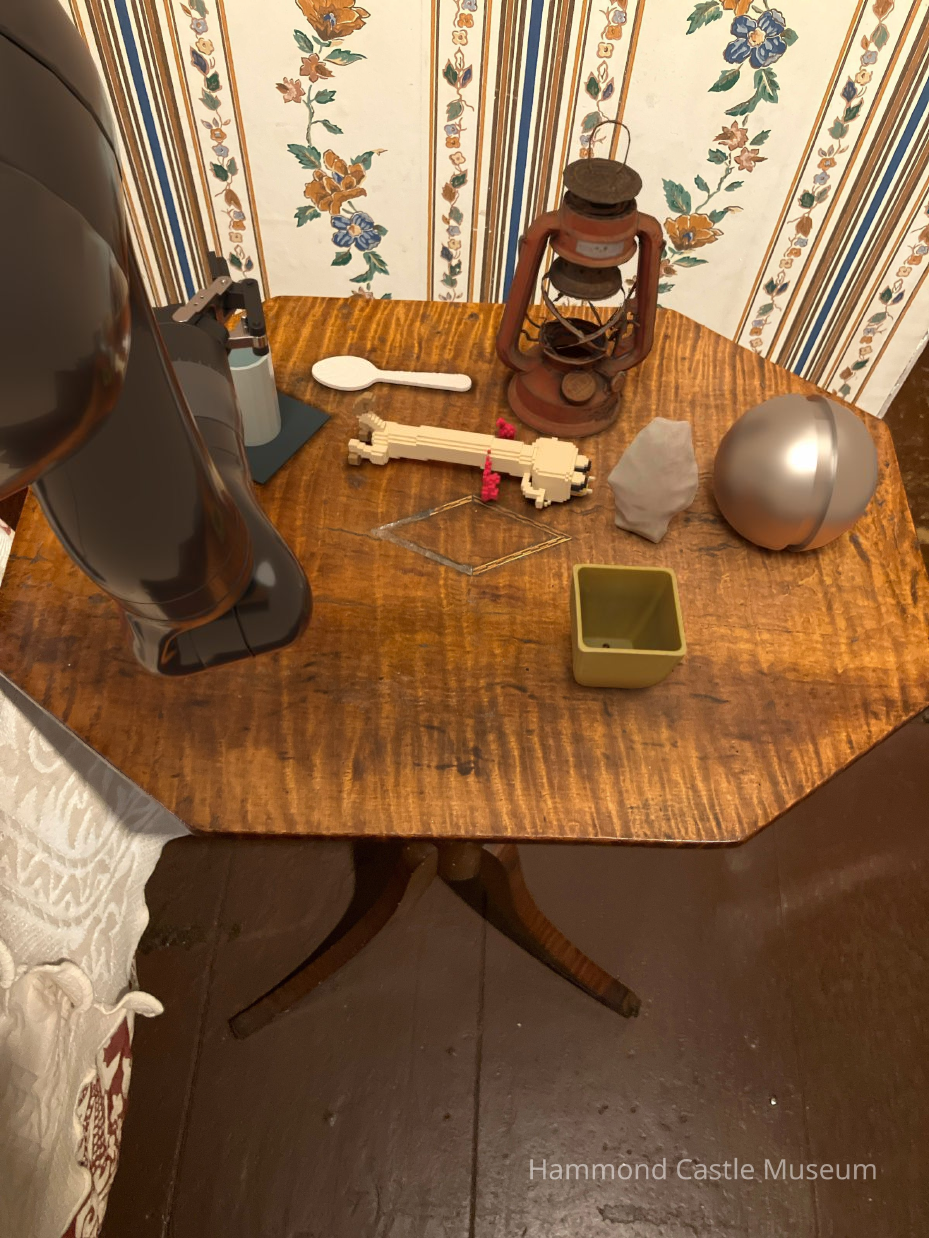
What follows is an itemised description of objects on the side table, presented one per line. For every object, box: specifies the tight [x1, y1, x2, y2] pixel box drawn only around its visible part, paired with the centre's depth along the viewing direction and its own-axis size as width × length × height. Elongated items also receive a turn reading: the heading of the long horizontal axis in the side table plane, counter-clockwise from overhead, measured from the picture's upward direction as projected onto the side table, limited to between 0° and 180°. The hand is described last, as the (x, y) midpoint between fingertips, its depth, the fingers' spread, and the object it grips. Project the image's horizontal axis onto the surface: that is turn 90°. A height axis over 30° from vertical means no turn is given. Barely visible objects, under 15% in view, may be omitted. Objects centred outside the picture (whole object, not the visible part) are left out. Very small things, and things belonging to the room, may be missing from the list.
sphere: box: [712, 392, 879, 553], centre depth 84 cm, size 15×14×15 cm
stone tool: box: [606, 416, 700, 544], centre depth 82 cm, size 8×4×15 cm, turn 80°
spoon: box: [311, 355, 472, 392], centre depth 99 cm, size 5×18×1 cm, turn 86°
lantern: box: [495, 119, 668, 439], centre depth 87 cm, size 17×13×30 cm
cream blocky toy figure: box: [347, 391, 596, 509], centre depth 88 cm, size 10×9×25 cm
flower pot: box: [568, 563, 688, 689], centre depth 75 cm, size 9×9×9 cm
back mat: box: [245, 390, 332, 486], centre depth 93 cm, size 12×12×1 cm
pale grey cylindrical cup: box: [228, 341, 281, 446], centre depth 89 cm, size 6×6×10 cm
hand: (154, 268), depth 67 cm, fingers open, 8 cm apart
